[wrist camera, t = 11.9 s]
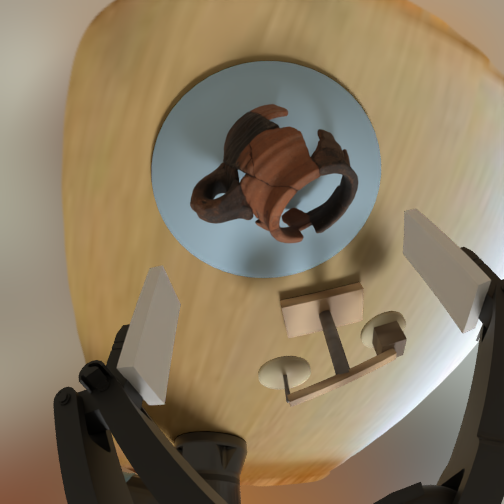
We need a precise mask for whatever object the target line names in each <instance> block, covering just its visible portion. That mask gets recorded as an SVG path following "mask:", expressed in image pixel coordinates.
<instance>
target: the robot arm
mask: <svg viewBox="0 0 504 504" xmlns="http://www.w3.org/2000/svg"><path fill="white" fill-rule="evenodd" d="M403 254H404V256H405V257H406V258H407V259H408V260H409V262H410V263H411V264H412V265H413V267H414V268H415V269H416V270H417V272H418V273H419V274H420V276H421V277H422V278H423V279H424V281H425V282H426V283H427V285H428V286H429V287H430V289H431V290H432V291H433V292H434V294H435V295H436V297H437V298H438V299H439V301H440V302H441V303H442V305H443V306H444V307H445V309H446V310H447V312H448V313H449V314H450V316H451V317H452V319H453V320H454V322H455V323H456V325H457V326H458V327H459V329H460V330H461V332H462V333H465V332H468V331H470V330H472V329H474V328H475V327H476V324H477V322H478V319H480V321H481V322H482V323H483V324H482V327H481V330H480V332H479V334H478V337H477V339H476V341H478V340H479V347H478V353H477V359H476V365H475V371H474V376H473V381H472V385H471V390H470V394H469V399H468V403H467V407H466V411H465V414H464V418H463V421H462V425H461V428H460V432H459V435H458V438H457V441H456V444H455V447H454V450H453V453H452V456H451V458H450V461H449V463H448V465H447V466H446V468H445V470H444V471H443V473H442V475H441V477H440V479H439V481H438V483H437V485H423V486H422V484H421V482H419V483H416V484H414V485H411V486H409V487H406V488H404V489H401V490H398V491H396V492H393V493H391V494H389V495H387V496H386V497H384V498H382V499H381V500H379V501H377V502H375V503H374V504H501V502H502V500H503V497H504V279H503V280H501V279H500V278H499V277H498V276H497V275H496V274H495V273H494V272H493V271H492V270H491V269H490V268H489V267H488V266H487V265H486V264H484V262H483V261H482V260H481V259H479V257H478V256H477V255H476V254H475V253H474V252H473V251H471V250H469V249H467V248H465V247H461V248H459V247H458V246H457V245H456V244H455V243H454V242H453V241H452V240H451V239H450V238H449V237H448V236H447V235H446V234H445V233H443V232H442V231H441V230H440V229H439V228H438V227H437V226H436V225H435V224H433V223H432V222H431V221H430V220H429V219H428V218H427V217H425V216H424V215H423V214H422V213H421V212H420V211H419V210H417V209H411V210H406V211H404V244H403ZM180 305H181V304H180V302H179V300H178V298H177V295H176V293H175V291H174V289H173V287H172V285H171V283H170V281H169V278H168V276H167V274H166V272H165V270H164V267H163V265H162V266H157V267H153V268H150V269H149V272H148V274H147V277H146V280H145V282H144V285H143V288H142V291H141V294H140V296H139V299H138V302H137V305H136V308H135V311H134V314H133V317H132V320H131V323H130V324H129V325H123V326H122V328H121V329H120V330H119V331H118V333H117V335H116V338H115V341H114V344H113V346H112V351H111V352H110V355H109V358H108V362H107V365H106V366H105V364H104V363H103V362H102V361H98V360H95V361H91V362H89V363H87V364H86V365H85V366H84V367H83V368H82V370H81V371H80V373H79V382H80V383H81V384H82V385H83V386H84V387H85V388H86V389H87V390H84V391H81V392H78V393H77V392H76V391H75V390H74V389H73V388H71V387H66V388H63V389H61V390H60V391H59V392H58V393H57V394H56V396H55V398H54V419H55V430H56V439H57V448H58V455H59V462H60V468H61V474H62V479H63V484H64V490H65V494H66V499H67V502H68V504H241V500H240V499H241V497H240V474H241V471H242V468H243V465H244V462H245V458H246V455H247V444H246V442H245V441H244V440H242V439H241V438H239V437H236V436H233V435H229V434H223V433H216V432H193V433H187V434H183V435H180V436H178V437H177V438H176V439H175V445H174V446H173V445H172V444H171V442H170V441H169V440H168V439H167V438H166V436H165V435H164V434H163V433H162V431H161V430H160V429H159V428H158V426H157V425H156V424H155V422H154V421H153V420H152V418H151V417H150V416H149V414H148V413H147V412H146V410H145V409H144V408H143V407H142V401H143V399H144V400H145V401H146V402H147V404H148V405H164V404H165V399H166V391H167V384H168V377H169V371H170V364H171V358H172V351H173V345H174V339H175V333H176V328H177V322H178V316H179V311H180ZM479 338H480V339H479ZM111 433H112V435H113V436H114V438H115V440H116V441H117V443H118V445H119V446H120V448H121V450H122V451H123V453H124V454H125V456H126V458H127V459H128V461H129V462H130V464H131V465H132V467H133V468H134V470H135V471H136V473H137V474H138V475H136V474H135V473H126V472H122V469H121V466H120V462H119V459H118V456H117V453H116V449H115V446H114V442H113V438H112V435H111Z"/></svg>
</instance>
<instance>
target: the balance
mask: <svg viewBox="0 0 504 504" xmlns="http://www.w3.org/2000/svg"><path fill="white" fill-rule="evenodd" d="M280 302H281V307H282V312H283V316H284V321H285V325H286V330H287V334H288V338H292V337H296V336H301V335H305V334H310V333H314V332H319V331H323V332H324V335H325V339H326V342H327V345H328V349H329V352H330V356H331V359H332V363H333V366H334V370H335V373H336V375H335V376H333V377H330V378H328V379H326V380H324V381H321V382H319V383H316V384H314V385H311V386H309V387H307V388H304V389H302V390H299V391H296V392H294V393H291V394H290V391H289V388H293V387H296V386H298V385H300V384H302V383H304V382H305V381H306V380H307V379H308V378H309V376H310V374H311V369H310V365H309V363H308V362H307V361H306V360H305V359H303V358H300V357H296V356H283V357H278V358H275V359H272V360H270V361H268V362H266V363H265V364H263V365H262V366H261V368H260V369H259V372H258V375H259V381H260V383H261V384H262V385H264V386H265V387H268V388H271V389H285V394H286V401H287V403H290V405H291V407H292V406H295V405H297V404H300V403H302V402H305V401H307V400H310V399H312V398H315V397H317V396H320V395H322V394H324V393H327V392H329V391H331V390H334V389H336V388H338V387H340V386H343V385H345V384H347V383H349V382H351V381H353V380H355V379H358V378H360V377H362V376H364V375H366V374H368V373H370V372H372V371H374V370H376V369H378V368H380V367H382V366H383V365H385V364H387V363H389V362H391V361H393V360H395V359H396V357H398V356H401V355H403V353H404V348H405V344H406V340H407V339H406V337H405V335H404V333H403V331H404V329H405V326H406V321H405V319H404V317H403V315H402V314H401V313H399V312H396V311H388V312H384V313H381V314H379V315H377V316H375V317H374V318H372V319H371V320H370V321H368V322H367V323H366V325H365V326H364V327H363V329H362V331H361V340H362V342H363V344H364V345H365V346H366V347H369V348H374V349H375V351H376V354H377V356H375V357H373V358H371V359H369V360H367V361H365V362H363V363H361V364H359V365H357V366H355V367H353V368H351V369H350V368H349V365H348V362H347V359H346V356H345V353H344V350H343V347H342V344H341V341H340V338H339V335H338V332H337V329H336V327H339V326H343V325H347V324H351V323H355V322H359V321H362V320H363V287H362V285H361V283H360V282H358V283H354V284H350V285H346V286H342V287H338V288H334V289H329V290H325V291H321V292H316V293H312V294H308V295H303V296H299V297H294V298H290V299H285V300H280Z"/></svg>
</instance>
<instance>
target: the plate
mask: <svg viewBox="0 0 504 504" xmlns="http://www.w3.org/2000/svg"><path fill="white" fill-rule="evenodd" d="M268 104H275V105H277V106H280V107H283V108H285V109H287V110H288V115H287V116H284V117H278V118H274V119H271V120H270V121H272V122H274V123H276V124H278V125H279V128H283V127H289V126H290V127H293V128H295V129H297V130H298V131H301V133H302V135H303V138H304V140H305V143H306V146H307V148H308V151H309V155H310V157H311V156H312V154H313V152H314V151H315V150H316V147H317V145H318V141H319V140H320V139H319V137H318V134H317V131H318V130H319V129H323V130H325V131H327V132H330V133H331V134H332V135H333V136H334V139H335V141H336V142H337V143H338V144H339V145H340V146H341V148H342V150H343V149H346V150H347V153H348V156H349V160H350V167H351V168H352V169H353V170H354V171H355V173H356V174H357V176H358V183H359V184H358V190H357V192H356V195H355V198H354V200H353V201H352V203H351V204H350V205H349V208H348V209H347V210H346V212H345V213H344V215H343V216H342V217H341V218H340V219H339V220H338V221H337V222H336V223H334V224H333V225H332V226H331V227H330V228H328V229H327V230H325V231H324V232H322V233H318V234H317V233H316V232H315V229H314V227H313V225H311V226H310V227H308V228H306V229H304V230H302V231H300V232H301V233H302V234H303V237H304V238H303V240H302V241H301V242H298V243H283V242H279V241H277V240H276V239H274V237H272V236H271V233H270V231H267V230H265V229H263V228H261V227H259V226H258V225H257V224H256V223H255V221H256V220H258V219H257V218H256V217H255V215H254V214H253V218H252V219H251V220H245V219H235V220H231V221H227V222H224V223H218V224H214V223H208V222H206V221H204V220H202V219H200V218H199V217H198V215H197V213H196V212H194V211H193V210H192V208H191V206H190V202H191V196H192V192H193V189H194V187H195V186H196V184H197V183H198V182H199V181H200V180H201V179H202V178H204V177H205V176H206V175H208V174H210V173H211V172H213V171H214V170H216V169H217V168H218V167H219V166H220V164H221V163H223V159H224V158H223V156H224V144H225V140H226V136H227V134H228V132H229V130H230V128H231V127H232V126H233V125H234V124H235V122H236V121H237V120H238V119H239V118H240V117H242V116H243V115H244V114H246V113H247V112H249V111H251V110H253V109H255V108H257V107H260V106H263V105H268ZM238 174H239V182H240V181H241V179H242V178H243V176H245V173H243V172H242V171H240V170H238ZM380 177H381V157H380V150H379V145H378V141H377V138H376V134H375V131H374V129H373V127H372V125H371V122H370V120H369V118H368V117H367V115H366V113H365V112H364V110H363V109H362V107H361V106H360V105H359V103H358V102H357V101H356V100H355V99H354V98H353V96H352V95H351V94H350V93H349V92H347V91H346V90H345V89H344V88H343V87H342V86H341V85H339V84H338V83H337V82H335V81H333V80H332V79H330V78H329V77H327V76H326V75H324V74H322V73H319V72H317V71H315V70H313V69H311V68H307V67H304V66H301V65H297V64H293V63H287V62H280V61H258V62H250V63H244V64H240V65H236V66H233V67H230V68H226V69H224V70H222V71H220V72H217V73H215V74H213V75H211V76H209V77H208V78H206V79H205V80H203V81H201V82H200V83H198V84H197V85H196V86H194V87H193V88H192V89H191V90H190V91H189V92H187V93H186V94H185V95H184V96H183V97H182V98H181V99H180V101H179V102H178V103H177V104H176V105H175V106H174V108H173V109H172V110H171V112H170V114H169V115H168V117H167V118H166V120H165V122H164V123H163V126H162V128H161V130H160V132H159V135H158V137H157V141H156V144H155V148H154V151H153V159H152V186H153V192H154V197H155V200H156V203H157V207H158V210H159V212H160V214H161V216H162V218H163V220H164V222H165V224H166V225H167V227H168V228H169V230H170V232H171V233H172V234H173V235H174V237H175V238H176V239H177V240H178V241H179V243H180V244H181V245H182V246H184V247H185V248H186V249H187V250H188V251H189V252H190V253H191V254H193V255H194V256H196V257H197V258H198V259H200V260H201V261H203V262H205V263H207V264H209V265H210V266H212V267H215V268H217V269H220V270H222V271H225V272H228V273H232V274H235V275H240V276H246V277H255V278H272V277H281V276H287V275H292V274H296V273H299V272H303V271H305V270H308V269H310V268H313V267H315V266H317V265H319V264H321V263H323V262H325V261H327V260H328V259H330V258H331V257H333V256H334V255H335V254H337V253H338V252H339V251H341V250H342V249H343V248H344V247H345V246H346V245H348V243H349V242H350V241H351V240H352V239H353V238H354V237H355V236H356V235H357V233H358V232H359V231H360V229H361V228H362V227H363V225H364V224H365V222H366V220H367V218H368V217H369V215H370V213H371V211H372V208H373V206H374V203H375V201H376V197H377V194H378V190H379V185H380ZM341 179H342V175H341V174H335V173H334V174H328V175H324V176H320V177H319V178H317V179H315V180H313V181H312V182H310V183H309V184H307V185H305V186H304V187H303V188H302V189H300V190H298V191H297V193H296V194H295V195H294V196H293V198H292V199H291V200H290V201H289V203H288V204H287V205H286V207H285V209H284V211H283V213H282V215H283V214H284V213H285V212H287V211H288V210H290V209H291V208H297V209H299V210H302V211H303V212H305V213H307V212H309V211H311V210H313V209H315V208H317V207H318V206H320V205H322V204H323V203H325V202H326V201H327V200H328V199H329V197H330V196H331V195H332V193H333V192H334V190H335V189H336V187H337V186H338V185H339V186H340V182H341ZM224 194H225V193H221V194H218V195H217V196H215V198H214V199H216V198H218V197H221V196H222V195H224ZM282 215H281V218H280V224H279V225H280V227H289V226H288V225H287V224H286V223H284V222H283V221H282Z"/></svg>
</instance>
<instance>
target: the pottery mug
mask: <svg viewBox="0 0 504 504" xmlns="http://www.w3.org/2000/svg"><path fill="white" fill-rule="evenodd" d="M287 115H288V110H287V109H285V108H283V107H280V106H277V105H275V104H268V105H263V106H260V107H257V108H255V109H253V110H251V111H249V112H247V113H246V114H244V115H243V116H242V117H240V118H239V119H238V120H237V121H236V122H235V124H234V125H233V126H232V127H231V128H230V130H229V132H228V134H227V136H226V140H225V144H224V156H223V158H224V159H223V163H221V164H220V166H219V167H218V168H217V169H216V170H214V171H213V172H211V173H210V174H208V175H206V176H205V177H204V178H202V179H201V180H200V181H199V182H198V183H197V184H196V186H195V187H194V189H193V192H192V196H191V202H190V206H191V208H192V210H193V211H194V212H196V213H197V215H198V217H199V218H200V219H202V220H204V221H206V222H208V223H214V224H218V223H224V222H227V221H231V220H235V219H245V220H251V219H252V218H253V214H254V215H255V217H256V218H257V219H258V220H256V221H255V223H256V224H257V225H258V226H259V227H261V228H263V229H265V230H267V231H270V233H271V236H272V237H274V239H276V240H277V241H279V242H283V243H298V242H301V241H302V240H303V238H304V237H303V234H302V233H301V232H300V231H302V230H304V229H306V228H308V227H310V226H311V225H313V227H314V229H315V232H316V233H317V234H318V233H322V232H324V231H325V230H327V229H328V228H330V227H331V226H332V225H333V224H334V223H336V222H337V221H338V220H339V219H340V218H341V217H342V216H343V215H344V213H345V212H346V210H347V209H348V208H349V205H350V204H351V203H352V201H353V200H354V198H355V195H356V192H357V190H358V184H359V183H358V176H357V174H356V173H355V171H354V170H353V169H352V168H351V167H350V160H349V156H348V153H347V150H346V149H343V150H342V148H341V146H340V145H339V144H338V143H337V142H336V141H335V139H334V136H333V135H332V134H331V133H330V132H327V131H325V130H323V129H319V130H318V131H317V134H318V137H319V139H320V140H319V141H318V145H317V147H316V150H315V151H314V152H313V154H312V156H311V157H310V155H309V151H308V148H307V146H306V143H305V140H304V138H303V135H302V133H301V131H298V130H297V129H295V128H293V127H290V126H289V127H283V128H279V125H278V124H276V123H274V122H272V121H270V120H271V119H274V118H278V117H284V116H287ZM238 170H240V171H242V172H243V173H245V176H243V178H242V179H241V181H240V182H239V174H238ZM334 173H335V174H341V175H342V179H341V182H340V186H339V185H338V186H337V187H336V189H335V190H334V192H333V193H332V195H331V196H330V197H329V199H328V200H327V201H326V202H325V203H323V204H322V205H320V206H318V207H317V208H315V209H313V210H311V211H309V212H307V213H305V212H303V211H302V210H299V209H297V208H291V209H290V210H288V211H287V212H285V213H284V214H283V215H282V213H283V211H284V209H285V207H286V205H287V204H288V203H289V201H290V200H291V199H292V198H293V196H294V195H295V194H296V193H297V191H298V190H300V189H302V188H303V187H304V186H305V185H307V184H309V183H310V182H312V181H313V180H315V179H317V178H319V177H320V176H324V175H328V174H334ZM221 193H225V194H224V195H222V196H221V197H218V198H216V199H214V198H215V196H217V195H218V194H221ZM281 215H282V221H283V222H284V223H286V224H287V225H288V226H289V227H280V225H279V224H280V218H281Z"/></svg>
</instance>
